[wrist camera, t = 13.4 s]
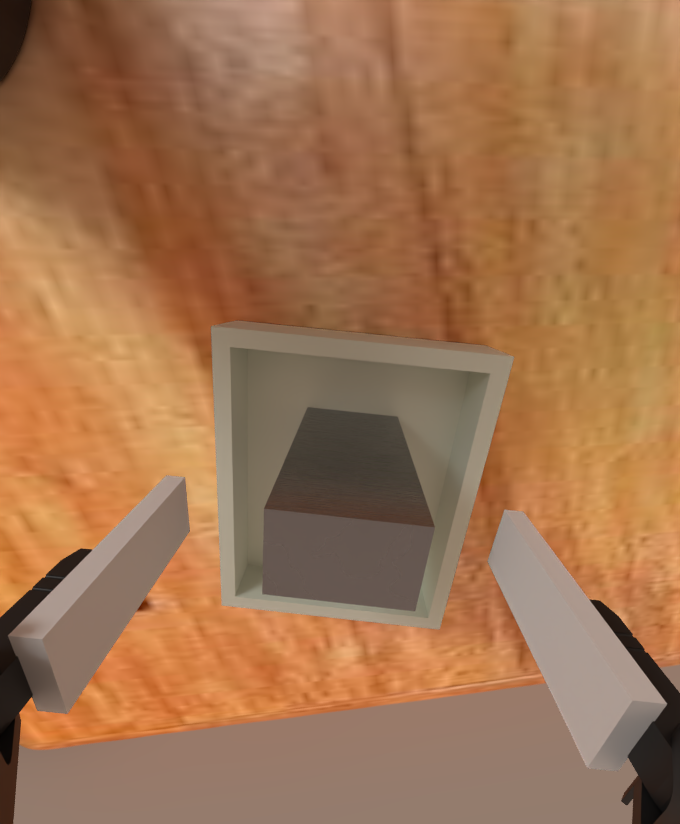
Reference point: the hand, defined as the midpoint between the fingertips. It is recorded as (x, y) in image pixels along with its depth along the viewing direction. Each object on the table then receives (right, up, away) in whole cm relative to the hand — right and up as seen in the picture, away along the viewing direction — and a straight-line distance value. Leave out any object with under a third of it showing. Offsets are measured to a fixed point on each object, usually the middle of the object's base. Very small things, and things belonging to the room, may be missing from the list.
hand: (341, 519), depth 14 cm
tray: (0, 0, +11) cm, 11 cm away
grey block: (0, 0, +10) cm, 10 cm away
